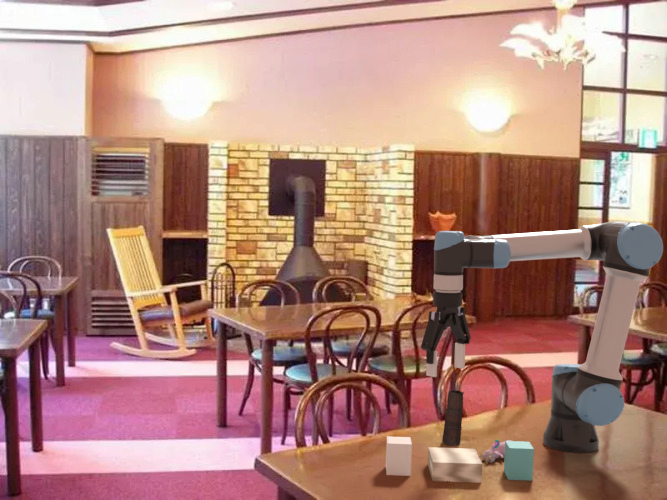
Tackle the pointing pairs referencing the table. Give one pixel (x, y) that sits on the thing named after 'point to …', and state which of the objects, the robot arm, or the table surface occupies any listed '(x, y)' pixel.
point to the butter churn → (453, 414)
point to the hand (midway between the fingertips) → (445, 372)
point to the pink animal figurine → (494, 452)
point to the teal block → (518, 460)
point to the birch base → (454, 465)
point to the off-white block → (398, 456)
